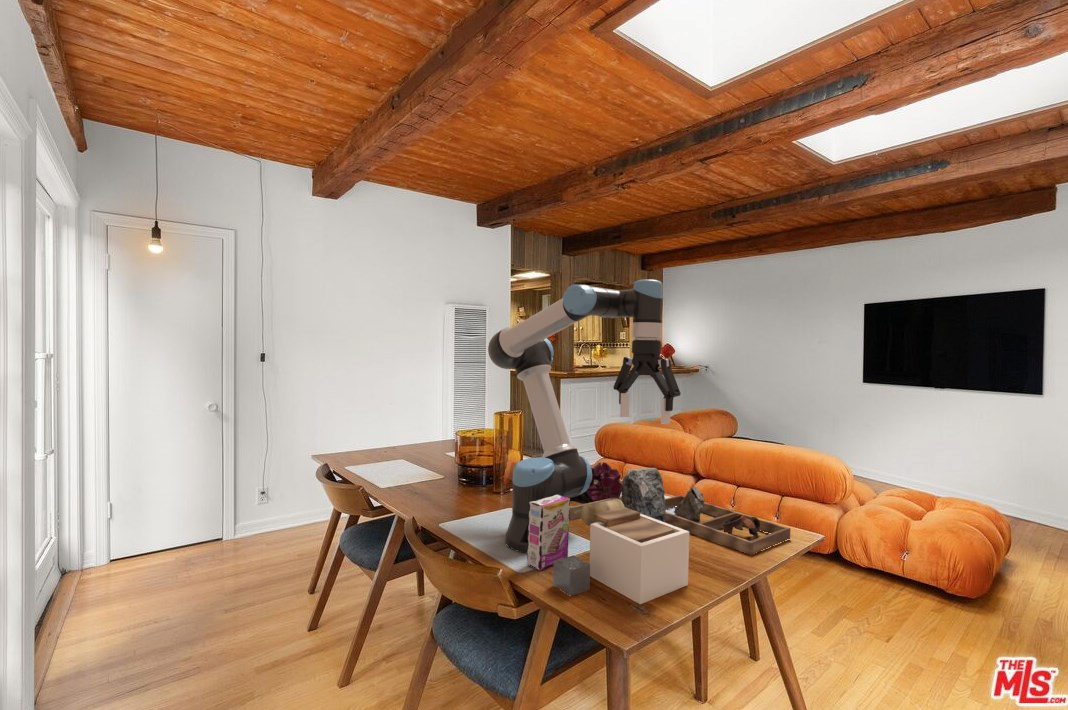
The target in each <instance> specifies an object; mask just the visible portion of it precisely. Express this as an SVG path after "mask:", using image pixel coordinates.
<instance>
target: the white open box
mask: <svg viewBox="0 0 1068 710" xmlns="http://www.w3.org/2000/svg"><path fill="white" fill-rule="evenodd" d="M640 517H642V518H645V519H647V520H650V521H653V522H655V523H658V524H661V525H663V526H666V527H669V528H671V529H674V533H672V534H669V535H666V536H663V537H659V538H656V539H653V540H649V541H646V542H643V543H640V542H638V541H635V540H633V539H631V538H628V537H626V536H624V535H621V534H619V533H617V532H615V531H612V530H610V529H608V528H605V527H604V526H607V523H606V522H604V521H600V522H596V523H592V524H590V526H589V529H590V530H589V535H590V536H589V564H590V577H591V578H593V579H594V580H596V581H597V582H600V583H601V584H604V585H605V586H607V587H609V588H610V589H612V590H613V591H616V592H617V593H619V594H621V595H623V596H624V597H626V598H628V599H630V600H631V601H633V602H635V603H637V604H639V605H642V604H645V603H648V602H651V601H652V600H655V599H657V598H660V597H662V596H664V595H667V594H669V593H672V592H675V591H676V590H679V589H681V588H685V587H686V586H689V562H690V561H689V559H690V558H689V556H690V555H689V554H690V533H689V531H686V530H684V529H681V528H678V527H676V526H673V525H670V524H667V523H665V522H662V521H659V520H657V519H654V518H651V517H648V516H646V515H643V514H640Z"/></svg>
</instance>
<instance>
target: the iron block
mask: <svg viewBox="0 0 1068 710" xmlns="http://www.w3.org/2000/svg"><path fill="white" fill-rule="evenodd" d="M590 577H591V576H590V562H587V561H585V560H583V559H581V558H579V557H577V556H576V555H570V556H569V555H568V557H566V558H562V559H559V560H556V561H554V565H553V581H552V582H553V583H552V586H553V585H554V586H556V587H557V588H559V589H561V590H562V591H564V592H565V593H566V594H568V595H573V596H575V595H574V594H576V595H578V593H579V594H581V593H584V592H587V591H590V589H591V588H590V587H591V586H590V585H591V583H590V582H591V578H590ZM554 586H553V587H554ZM557 588H556V589H557ZM559 589H558V590H559ZM562 591H561V592H562ZM565 593H564V594H565ZM566 594H565V595H566ZM568 595H567V596H568Z"/></svg>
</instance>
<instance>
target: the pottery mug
mask: <svg viewBox="0 0 1068 710" xmlns="http://www.w3.org/2000/svg"><path fill="white" fill-rule="evenodd" d="M745 515H746V514H745ZM745 515H744V513H741V515H737V516H735V517H732V518H730V519H729V521H730V523H728V522H727V521H725V522H724V523H723V524H722V525H723V526H724V528H723V532H725V533H728V534H731V535H733V529H736V530H739V531H744V529H743V526H742V524H743V523H744V524H745V525H746V527H745V528H747V529H748V532H749V533H748V534H749V535H752V536H751V537H749V541H752V540H754V539H757V538H760V536H759V533H758V532H759V531H758V530H759V528H760V521H759V520H758V519H759V518H757V516H751V517H750V518H746V517H745ZM753 522H754V523H753Z"/></svg>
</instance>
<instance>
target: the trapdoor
mask: <svg viewBox="0 0 1068 710" xmlns="http://www.w3.org/2000/svg"><path fill="white" fill-rule="evenodd" d="M581 517H582V518H581V519H582V522H583V523H584V524H585V525H586V526H588V527H590V524H592V523H596V522H600V521H604V522H606V523H607V526H604V527H605V528H608V529H610V530H612V531H615V532H617V533H619V534H621V535H624V536H626V537H628V538H631V539H633V540H635V541H638V542H640V543H643V542H646V541H649V540H653V539H656V538H659V537H663V536H666V535H669V534H672V533H674V529H671V528H669V527H666V526H663V525H661V524H658V523H655V522H653V521H650V520H647V519H645V518H642V517H640V512H637V511H634V510H632V509H629V508H626V507H624V504H623V503H622V501H621V500H619V499H613V500H608V501H604V502H599V503H595V504H590V505H586V506H583V508H582V510H581Z"/></svg>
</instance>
